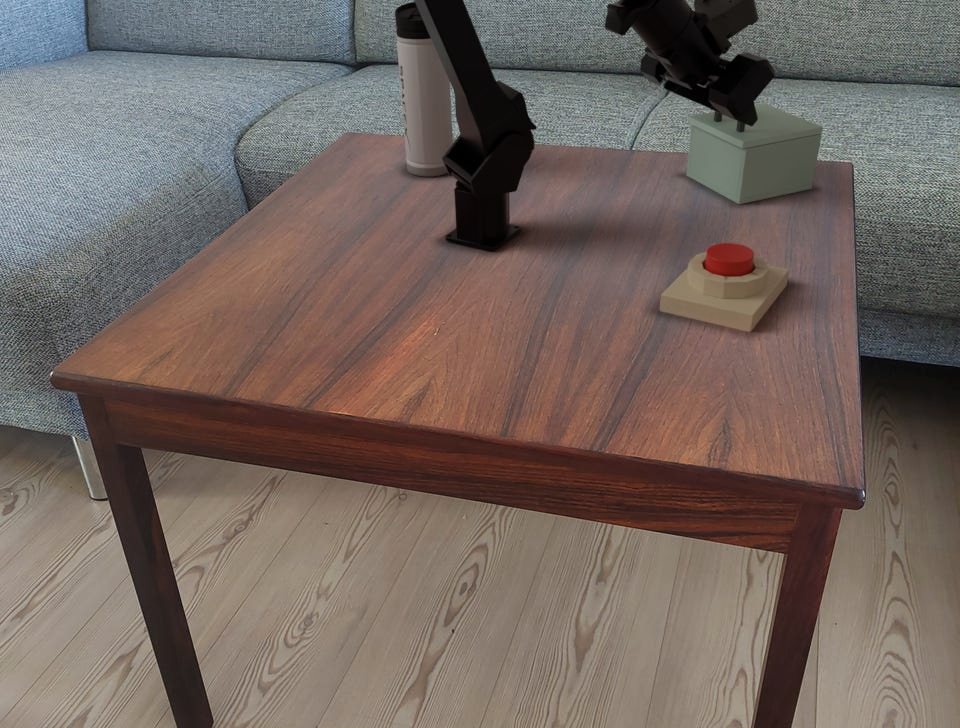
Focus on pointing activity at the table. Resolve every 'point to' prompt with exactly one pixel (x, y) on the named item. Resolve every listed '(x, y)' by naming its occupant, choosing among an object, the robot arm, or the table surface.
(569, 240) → the table surface
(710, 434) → the table surface
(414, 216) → the table surface
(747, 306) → the control block
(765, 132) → the lid
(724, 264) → the power button
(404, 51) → the travel mug
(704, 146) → the green lidded box
